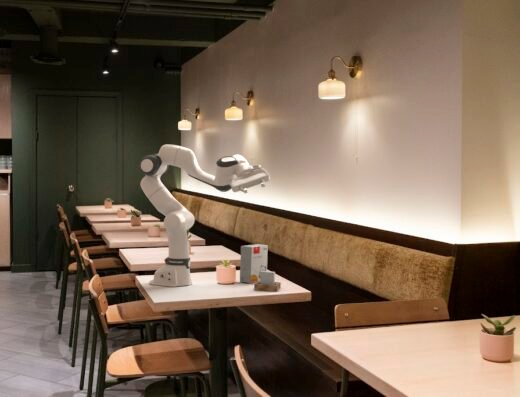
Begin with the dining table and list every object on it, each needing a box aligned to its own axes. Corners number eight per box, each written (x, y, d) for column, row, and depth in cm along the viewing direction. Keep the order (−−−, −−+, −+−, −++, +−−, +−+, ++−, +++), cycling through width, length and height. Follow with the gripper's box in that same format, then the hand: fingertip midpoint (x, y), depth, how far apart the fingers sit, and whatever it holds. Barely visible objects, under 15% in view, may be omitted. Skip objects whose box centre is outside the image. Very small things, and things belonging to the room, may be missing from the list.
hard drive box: (250, 283, 347) (251, 247, 346) (239, 282, 352) (240, 245, 351) (267, 280, 360) (268, 244, 359) (256, 278, 364) (257, 243, 363)
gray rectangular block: (260, 289, 333) (260, 271, 333) (261, 288, 336) (261, 271, 336) (273, 290, 332) (273, 272, 331) (274, 288, 335) (275, 271, 334)
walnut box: (254, 289, 330) (254, 284, 330) (258, 286, 340) (258, 280, 340) (277, 291, 328) (277, 285, 327) (280, 287, 337) (280, 282, 337)
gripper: (225, 176, 327) (234, 190, 316) (263, 163, 330) (272, 177, 320) (228, 186, 331) (236, 200, 320) (264, 173, 334) (274, 187, 324)
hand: (254, 189), depth 320 cm, fingers open, 8 cm apart
